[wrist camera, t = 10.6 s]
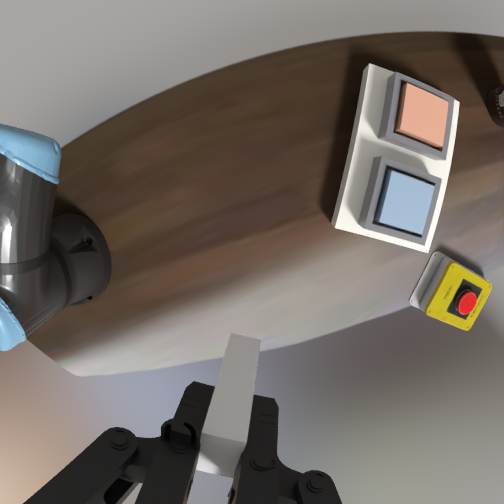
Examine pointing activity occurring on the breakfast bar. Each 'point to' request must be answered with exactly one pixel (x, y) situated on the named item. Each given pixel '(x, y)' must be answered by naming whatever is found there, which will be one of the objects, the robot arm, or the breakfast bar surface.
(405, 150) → the key panel
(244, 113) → the breakfast bar surface
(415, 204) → the blue key
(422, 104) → the terracotta key
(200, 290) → the breakfast bar surface
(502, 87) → the coffee mug
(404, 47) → the breakfast bar surface
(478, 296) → the emergency button
